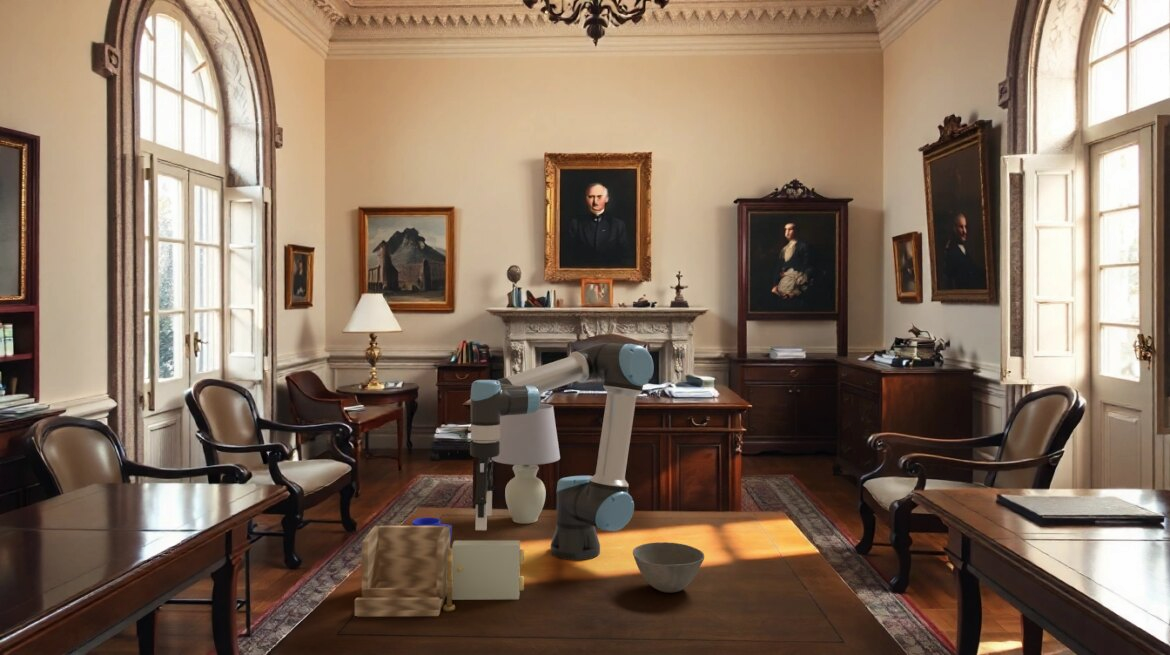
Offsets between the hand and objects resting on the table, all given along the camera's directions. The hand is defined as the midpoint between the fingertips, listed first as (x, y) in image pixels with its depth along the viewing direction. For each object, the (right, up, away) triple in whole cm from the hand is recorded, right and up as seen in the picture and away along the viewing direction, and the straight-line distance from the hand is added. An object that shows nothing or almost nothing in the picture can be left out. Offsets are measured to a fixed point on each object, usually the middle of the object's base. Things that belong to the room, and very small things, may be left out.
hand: (483, 522), depth 202 cm
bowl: (+48, -20, +6) cm, 52 cm away
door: (+1, -19, 0) cm, 19 cm away
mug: (-20, -18, +33) cm, 42 cm away
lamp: (+5, -17, +72) cm, 74 cm away
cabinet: (-18, -19, -3) cm, 26 cm away
